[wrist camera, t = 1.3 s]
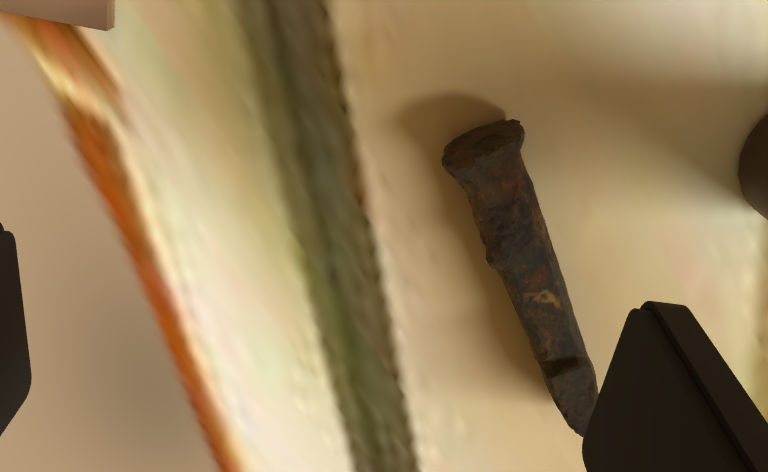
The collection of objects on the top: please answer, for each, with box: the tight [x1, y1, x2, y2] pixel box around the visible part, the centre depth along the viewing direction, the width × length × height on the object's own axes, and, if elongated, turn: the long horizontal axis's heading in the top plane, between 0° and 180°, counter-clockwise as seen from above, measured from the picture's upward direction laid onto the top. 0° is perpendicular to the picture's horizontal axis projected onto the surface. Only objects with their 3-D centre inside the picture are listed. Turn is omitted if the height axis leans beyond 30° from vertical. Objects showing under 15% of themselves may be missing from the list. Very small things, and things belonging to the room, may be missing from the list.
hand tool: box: [442, 119, 599, 437], centre depth 36 cm, size 19×4×5 cm, turn 21°
